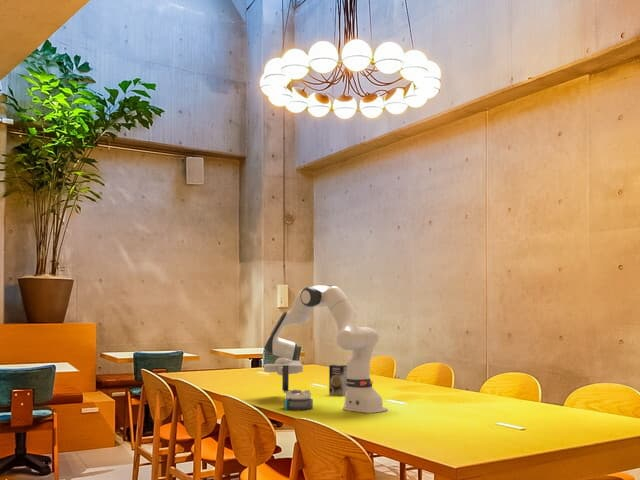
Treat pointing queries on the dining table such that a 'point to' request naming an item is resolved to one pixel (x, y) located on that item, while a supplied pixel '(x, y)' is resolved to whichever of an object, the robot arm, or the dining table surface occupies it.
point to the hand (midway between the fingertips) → (283, 369)
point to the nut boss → (298, 405)
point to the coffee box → (337, 379)
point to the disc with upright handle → (293, 394)
